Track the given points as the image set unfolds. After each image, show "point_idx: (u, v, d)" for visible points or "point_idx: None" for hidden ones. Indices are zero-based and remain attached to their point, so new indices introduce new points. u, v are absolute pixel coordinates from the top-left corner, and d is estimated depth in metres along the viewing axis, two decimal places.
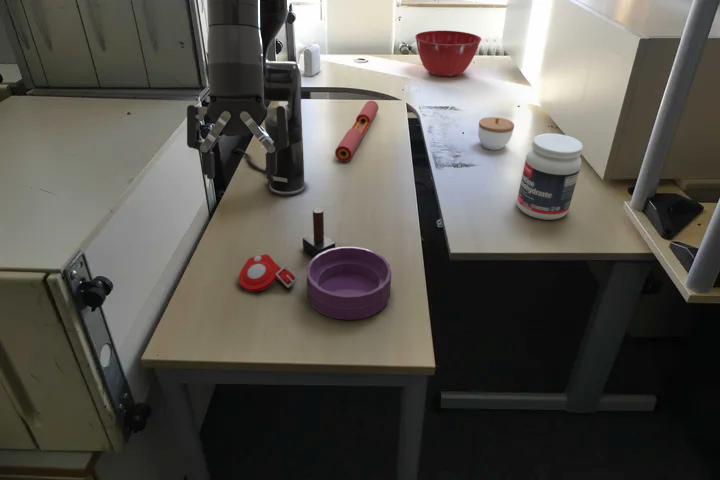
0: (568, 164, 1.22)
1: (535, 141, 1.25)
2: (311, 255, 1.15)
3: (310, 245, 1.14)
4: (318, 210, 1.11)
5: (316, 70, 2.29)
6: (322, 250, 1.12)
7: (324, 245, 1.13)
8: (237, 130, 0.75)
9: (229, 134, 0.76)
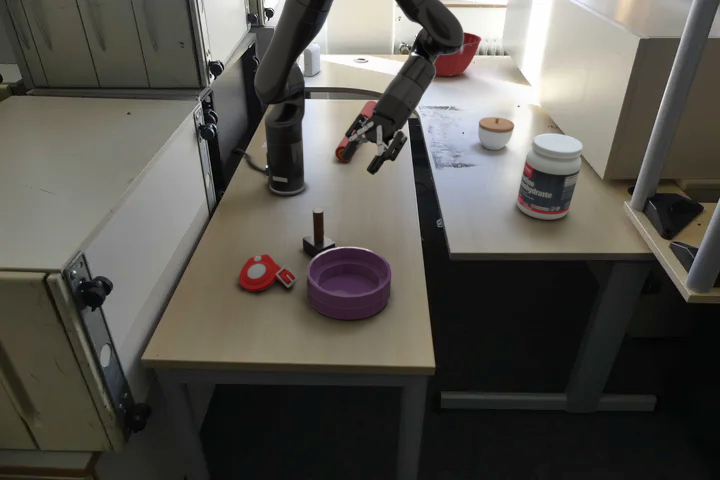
0: (568, 164, 1.22)
1: (535, 141, 1.25)
2: (311, 255, 1.15)
3: (310, 245, 1.14)
4: (318, 210, 1.11)
5: (316, 70, 2.29)
6: (322, 250, 1.12)
7: (324, 245, 1.13)
8: None
9: None
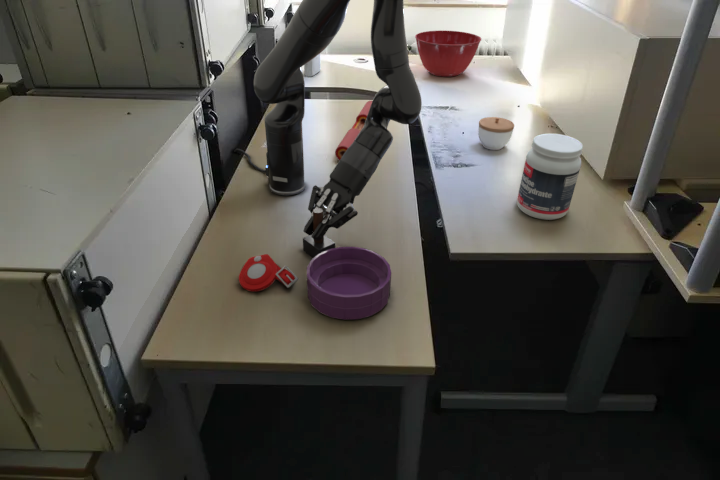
0: (568, 164, 1.22)
1: (535, 141, 1.25)
2: (311, 255, 1.15)
3: (310, 245, 1.14)
4: (318, 210, 1.11)
5: (316, 70, 2.29)
6: (322, 250, 1.12)
7: (324, 245, 1.13)
8: None
9: None
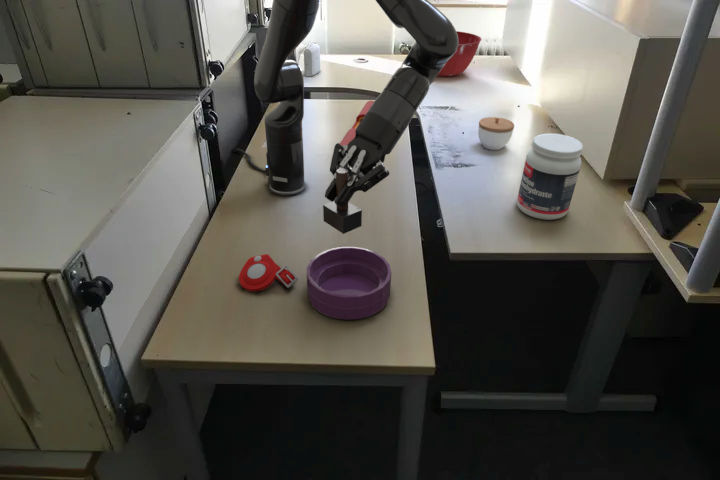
0: (568, 164, 1.22)
1: (535, 141, 1.25)
2: (333, 225, 0.98)
3: (332, 213, 0.97)
4: (343, 170, 0.94)
5: (316, 70, 2.29)
6: (347, 218, 0.95)
7: (349, 213, 0.96)
8: None
9: (362, 172, 0.96)
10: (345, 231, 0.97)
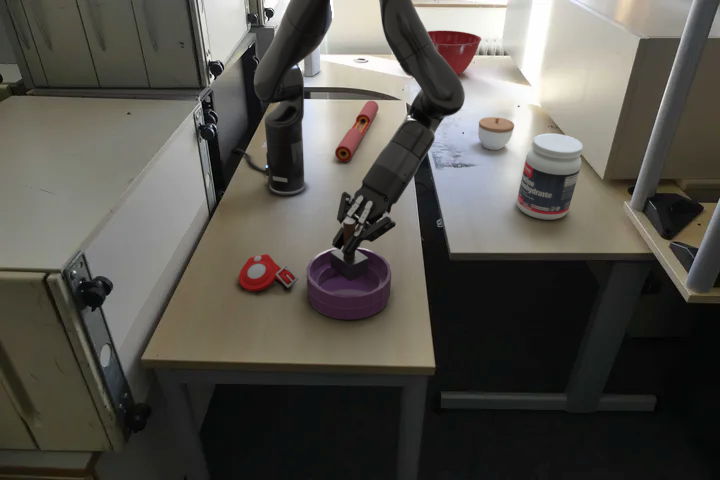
0: (568, 164, 1.22)
1: (535, 141, 1.25)
2: (340, 272, 1.00)
3: (339, 260, 0.99)
4: (350, 220, 0.96)
5: (316, 70, 2.29)
6: (354, 266, 0.98)
7: (355, 261, 0.98)
8: None
9: None
10: (352, 279, 0.99)
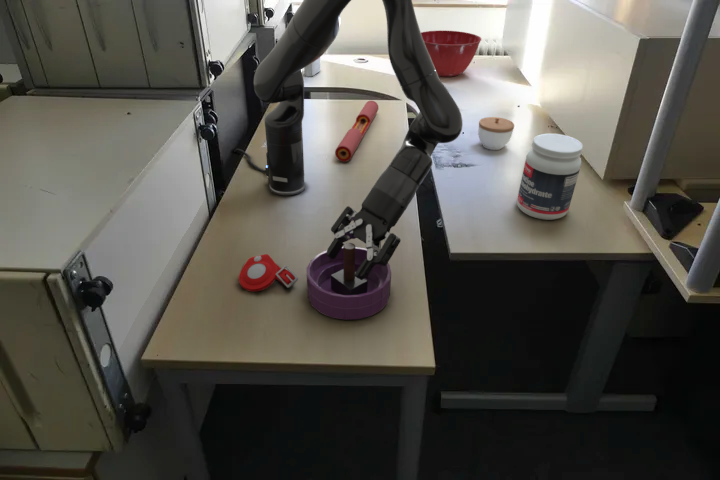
0: (568, 164, 1.22)
1: (535, 141, 1.25)
2: None
3: (340, 283, 1.02)
4: (350, 245, 0.99)
5: (316, 70, 2.29)
6: (353, 290, 1.01)
7: (355, 284, 1.01)
8: None
9: None
10: None
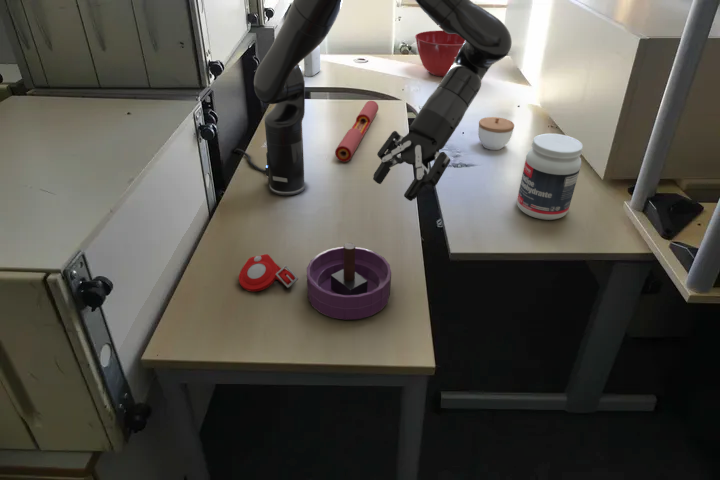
0: (568, 164, 1.22)
1: (535, 141, 1.25)
2: None
3: (340, 283, 1.02)
4: (350, 245, 0.99)
5: (316, 70, 2.29)
6: (353, 290, 1.01)
7: (355, 284, 1.01)
8: None
9: (416, 166, 1.00)
10: None
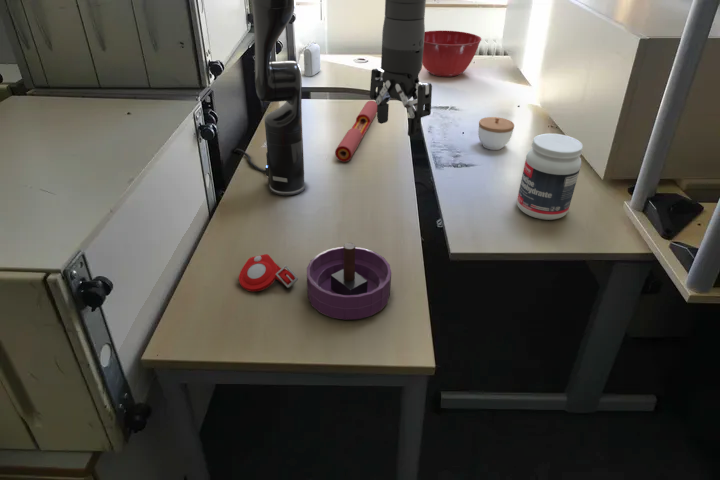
0: (568, 164, 1.22)
1: (535, 141, 1.25)
2: None
3: (340, 283, 1.02)
4: (350, 245, 0.99)
5: (316, 70, 2.29)
6: (353, 290, 1.01)
7: (355, 284, 1.01)
8: None
9: None
10: None
